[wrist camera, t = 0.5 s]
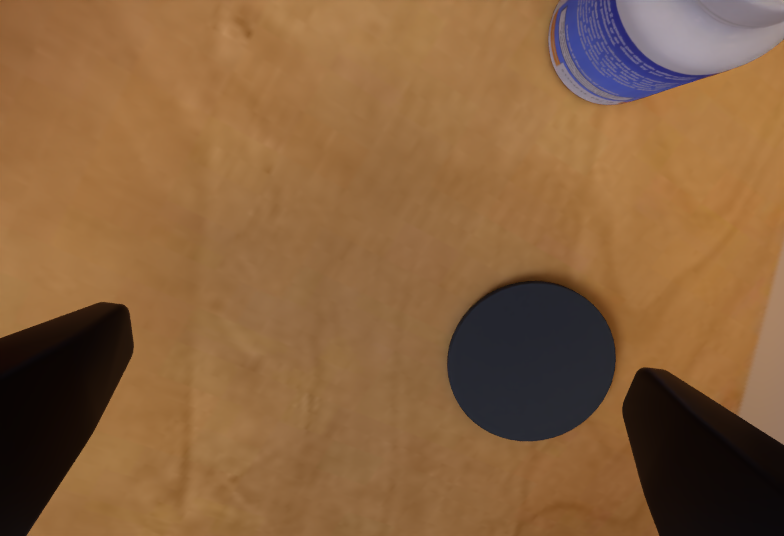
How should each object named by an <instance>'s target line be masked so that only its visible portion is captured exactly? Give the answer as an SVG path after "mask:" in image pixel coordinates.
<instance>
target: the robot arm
mask: <svg viewBox="0 0 784 536" xmlns="http://www.w3.org/2000/svg"><path fill="white" fill-rule="evenodd" d="M133 348H134V342H133V335H132V327H131V320H130V313H129V310H128V308H127V307H126V306H125V305H123V304H115V303H107V302H100V303H96V304H94V305H91V306H88V307H85V308H83V309H80V310H77V311H74V312H72V313H69V314H66V315H63V316H60V317H58V318H55V319H52V320H49V321H47V322H44V323H41V324H38V325H36V326H33V327H30V328H27V329H25V330H22V331H19V332H16V333H13V334H11V335H8V336H5V337H2V338H0V536H26V535H27V534H28V532H29V531H30V529H31V528H32V526H33V525H34V523H35V522H36V520H37V519H38V517H39V515H40V514H41V512H42V511H43V509H44V508H45V506H46V505H47V503H48V502H49V500H50V499H51V497H52V495H53V494H54V492H55V491H56V489H57V488H58V486H59V485H60V483H61V482H62V480H63V479H64V477H65V476H66V474H67V472H68V471H69V469H70V468H71V466H72V465H73V463H74V462H75V460H76V459H77V457H78V456H79V454H80V452H81V451H82V449H83V448H84V446H85V445H86V443H87V441H88V440H89V438H90V437H91V435H92V433H93V432H94V430H95V428H96V426H97V424H98V422H99V421H100V419H101V417H102V415H103V413H104V411H105V409H106V407H107V405H108V403H109V401H110V399H111V397H112V395H113V393H114V391H115V389H116V387H117V385H118V383H119V381H120V379H121V377H122V375H123V373H124V371H125V369H126V367H127V365H128V363H129V361H130V359H131V357H132V354H133ZM622 413H623V419H624V422H625V426H626V430H627V434H628V437H629V441H630V445H631V448H632V452H633V456H634V460H635V463H636V467H637V471H638V475H639V478H640V482H641V485H642V489H643V492H644V495H645V498H646V501H647V504H648V507H649V509H650V512H651V515H652V517H653V520H654V523H655V525H656V528H657V530H658V533H659V536H784V445H783V444H781V443H780V442H778V441H776V440H775V439H773V438H772V437H770V436H768V435H767V434H765V433H764V432H762V431H761V430H759V429H758V428H756V427H754V426H753V425H751V424H750V423H748V422H747V421H745V420H743V419H742V418H740V417H739V416H737V415H736V414H734V413H732V412H731V411H729V410H728V409H726V408H725V407H723V406H721V405H720V404H718V403H717V402H715V401H714V400H712V399H710V398H709V397H707V396H706V395H704V394H703V393H701V392H699V391H698V390H696V389H695V388H693V387H692V386H690V385H688V384H687V383H685V382H684V381H682V380H681V379H679V378H677V377H676V376H674V375H673V374H671V373H670V372H668V371H666V370H663V369H655V368H646V367H643V368H641V369H639V370H638V371H637V373H636V374H635V377H634V379H633V381H632V383H631V386H630V388H629V390H628V393H627V395H626V397H625V400H624V402H623V407H622Z"/></svg>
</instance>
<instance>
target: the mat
mask: <svg viewBox="0 0 784 536" xmlns="http://www.w3.org/2000/svg"><path fill="white" fill-rule="evenodd" d="M615 362H616V356H615V345H614V340H613V337H612V333H611V330H610V328H609V326H608V324H607V322H606V320H605V319H604V317H603V316H602V314H601V313H600V312H599V310H598V309H597V308H596V307H595V306H594V305H593V304H592V303H591V302H589V301H588V300H587V299H586V298H585V297H583V296H581V295H580V294H578V293H577V292H575V291H573V290H571V289H569V288H567V287H564V286H562V285H558V284H554V283H550V282H543V281H527V282H519V283H515V284H510V285H507V286H504V287H502V288H499V289H497V290H495V291H493V292H491V293H489V294H487V295H486V296H485V297H483V298H482V299H480V300H479V301H478V302H477V303H476V304H474V305H473V306H472V307H471V308H470V309H469V310H468V312H467V313H466V314H465V315H464V316H463V318H462V319H461V321H460V322H459V324H458V326H457V328H456V330H455V332H454V334H453V336H452V339H451V342H450V346H449V351H448V362H447V368H448V377H449V381H450V385H451V389H452V391H453V394H454V396H455V398H456V400H457V402H458V404H459V405H460V407H461V408H462V410H463V411H464V412H465V414H466V415H467V416H468V417H469V418H470V419H471V420H472V421H473V422H474V423H476V424H477V425H478V426H480V427H481V428H483V429H484V430H486V431H488V432H490V433H492V434H494V435H497V436H499V437H502V438H506V439H510V440H517V441H538V440H545V439H549V438H553V437H556V436H559V435H562V434H564V433H566V432H568V431H570V430H572V429H574V428H575V427H577V426H578V425H580V424H581V423H582V422H584V421H585V420H586V419H587V418H588V417H590V416H591V414H592V413H593V412H594V411H595V410H596V409H597V408H598V407H599V405H600V404H601V402H602V401H603V399H604V398H605V396H606V394H607V392H608V390H609V388H610V385H611V383H612V379H613V375H614V371H615Z"/></svg>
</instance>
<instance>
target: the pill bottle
mask: <svg viewBox="0 0 784 536" xmlns="http://www.w3.org/2000/svg"><path fill="white" fill-rule="evenodd" d="M783 39H784V0H560V1H559V3H558V4H557V6H556V8H555V11H554V13H553V16H552V19H551V23H550V27H549V38H548V40H549V52H550V57H551V60H552V63H553V66H554V68H555V71H556V73H557V74H558V76H559V78H560V79H561V80H562V82H563V83H564V84H565V85H566V86H567V88H569V89H570V90H571V91H572V92H573V93H574V94H576V95H577V96H579V97H581V98H583V99H585V100H587V101H590V102H593V103H597V104H603V105H617V104H623V103H627V102H631V101H635V100H638V99H641V98H644V97H647V96H650V95H653V94H656V93H659V92H662V91H665V90H668V89H671V88H674V87H677V86H680V85H684V84H687V83H690V82H693V81H696V80H699V79H703V78H706V77H709V76H713V75H716V74H719V73H722V72H725V71H728V70H731V69H733V68H736V67H739V66H742V65H744V64H747V63H749V62H751V61H753V60H755V59H757V58H759V57H761V56H762V55H764V54H765V53H767V52H768V51H770V50H771V49H772V48H774V47H775V46H776V45H778V44H779V43H780V42H781V41H782V40H783Z"/></svg>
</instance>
